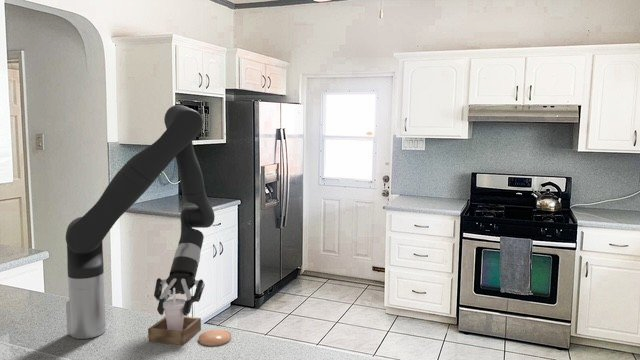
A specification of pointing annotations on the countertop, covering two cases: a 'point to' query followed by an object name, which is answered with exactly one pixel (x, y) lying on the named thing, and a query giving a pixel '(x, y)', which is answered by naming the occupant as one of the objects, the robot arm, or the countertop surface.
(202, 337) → the peach glossy dome
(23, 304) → the countertop surface
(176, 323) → the smoothie
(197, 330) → the crate
